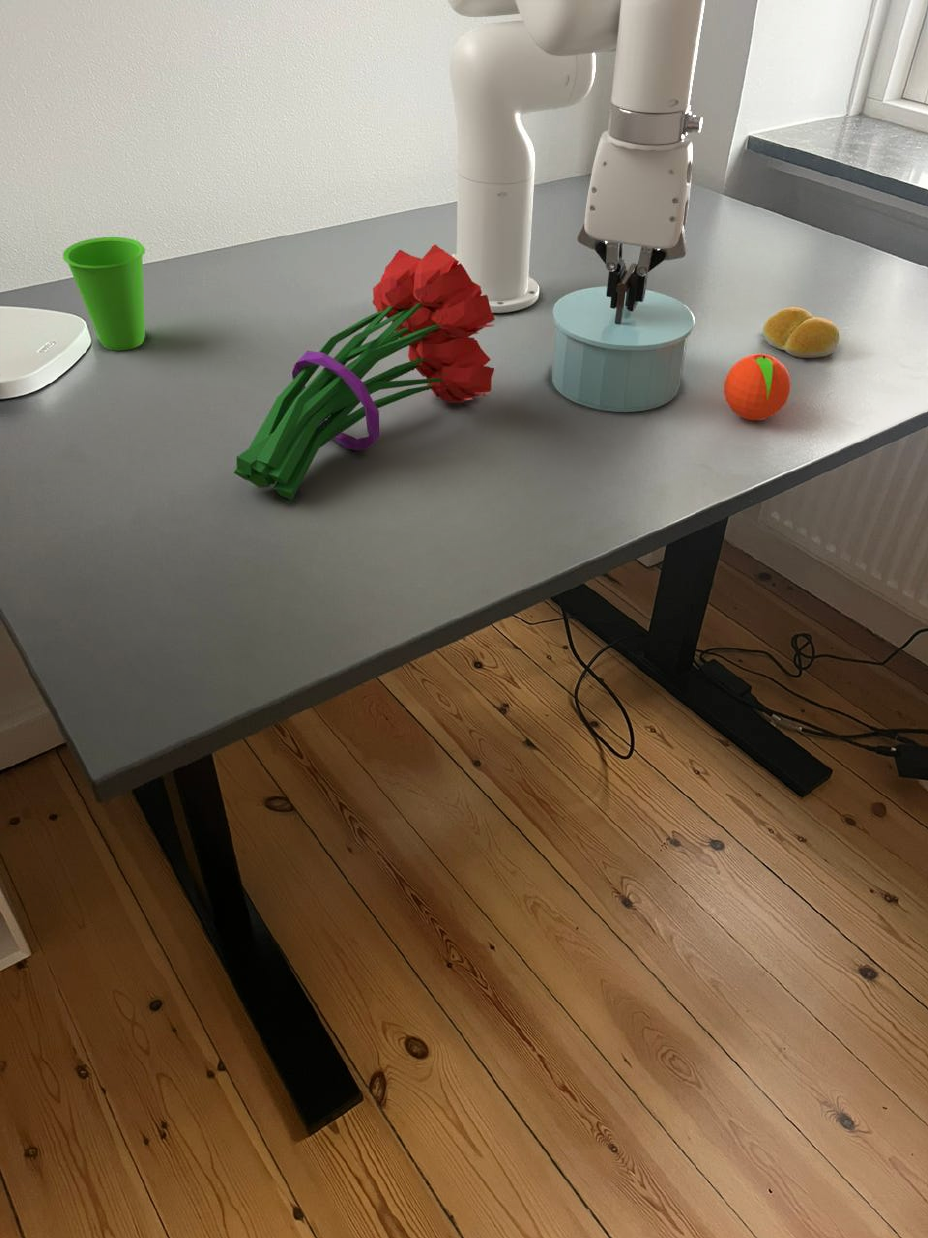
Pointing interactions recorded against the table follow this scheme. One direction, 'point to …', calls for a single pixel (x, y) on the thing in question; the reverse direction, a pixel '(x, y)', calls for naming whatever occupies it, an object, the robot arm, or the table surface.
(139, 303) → the cup
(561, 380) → the pot
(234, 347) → the table surface
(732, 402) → the clementine
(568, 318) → the lid
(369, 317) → the bouquet
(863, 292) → the table surface
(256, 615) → the table surface
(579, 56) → the robot arm
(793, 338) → the bread roll
